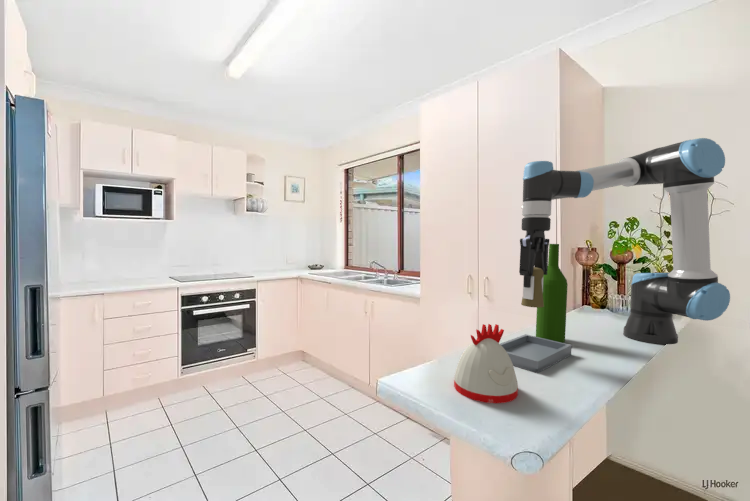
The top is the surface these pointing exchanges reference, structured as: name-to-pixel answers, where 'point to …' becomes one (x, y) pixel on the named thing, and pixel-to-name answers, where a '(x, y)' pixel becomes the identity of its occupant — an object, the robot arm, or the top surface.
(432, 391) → the top surface
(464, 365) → the kitchen timer
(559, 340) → the wine bottle
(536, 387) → the top surface
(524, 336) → the slate tray
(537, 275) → the cork
